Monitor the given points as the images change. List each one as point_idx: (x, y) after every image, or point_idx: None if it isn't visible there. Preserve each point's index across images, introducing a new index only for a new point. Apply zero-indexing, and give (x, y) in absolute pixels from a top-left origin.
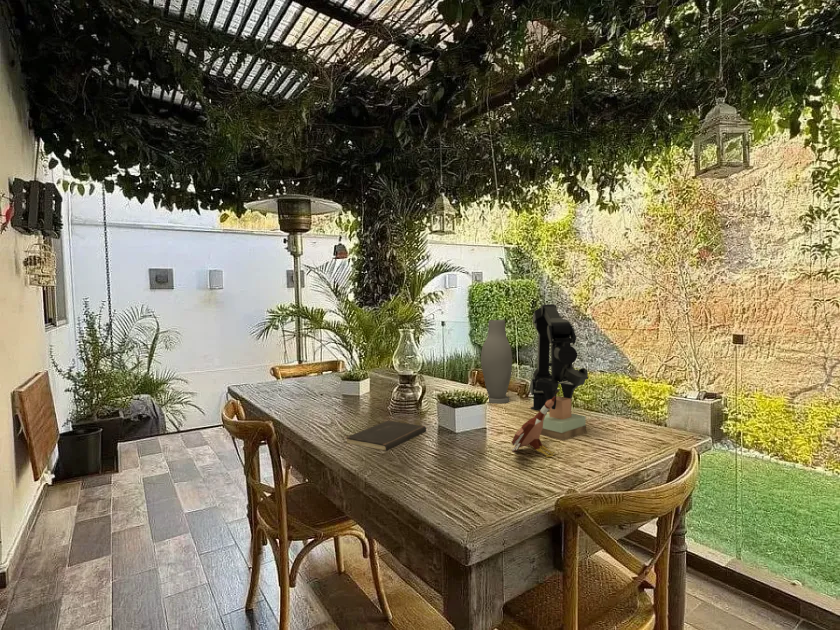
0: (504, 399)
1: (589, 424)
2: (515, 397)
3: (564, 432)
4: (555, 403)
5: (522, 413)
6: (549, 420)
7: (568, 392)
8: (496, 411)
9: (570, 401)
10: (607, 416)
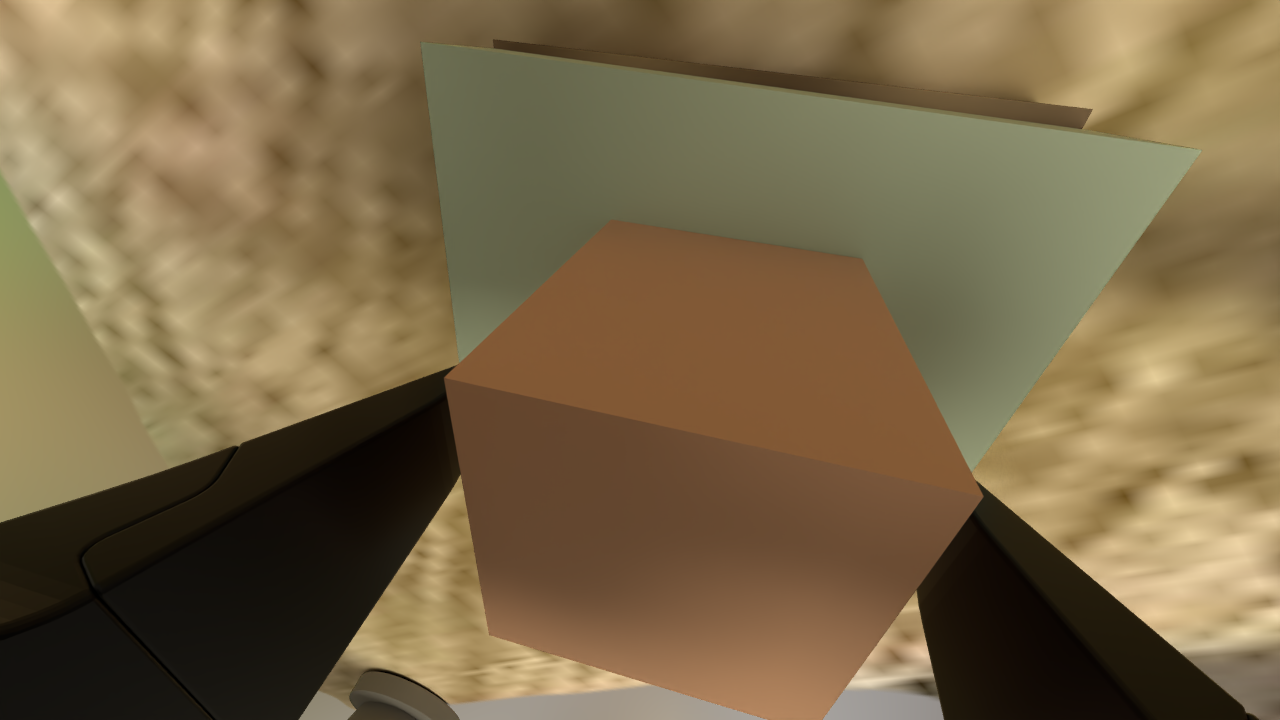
0: (397, 699)
1: (296, 166)
2: None
3: (1029, 111)
4: (1043, 567)
5: (480, 598)
6: (1019, 392)
7: (249, 594)
8: (552, 684)
9: (525, 345)
10: (8, 153)
